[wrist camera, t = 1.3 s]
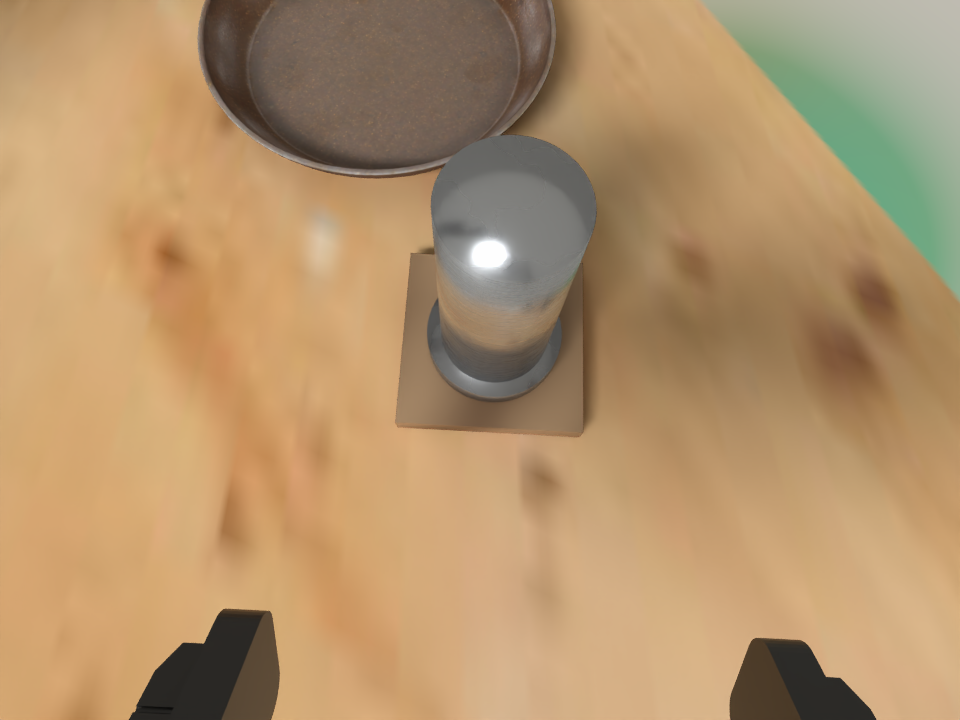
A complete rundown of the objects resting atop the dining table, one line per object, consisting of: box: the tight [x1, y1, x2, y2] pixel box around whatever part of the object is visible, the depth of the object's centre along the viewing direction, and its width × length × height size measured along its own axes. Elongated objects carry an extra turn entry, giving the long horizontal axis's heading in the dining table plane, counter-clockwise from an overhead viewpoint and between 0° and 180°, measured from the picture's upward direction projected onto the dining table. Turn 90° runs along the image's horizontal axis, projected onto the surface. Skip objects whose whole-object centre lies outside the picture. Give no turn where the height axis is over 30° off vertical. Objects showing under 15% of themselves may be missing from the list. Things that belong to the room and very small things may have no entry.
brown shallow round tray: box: [198, 0, 556, 178], centre depth 32 cm, size 18×18×3 cm
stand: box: [395, 253, 583, 437], centre depth 28 cm, size 8×8×1 cm
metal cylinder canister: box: [427, 135, 597, 402], centre depth 23 cm, size 6×6×11 cm
